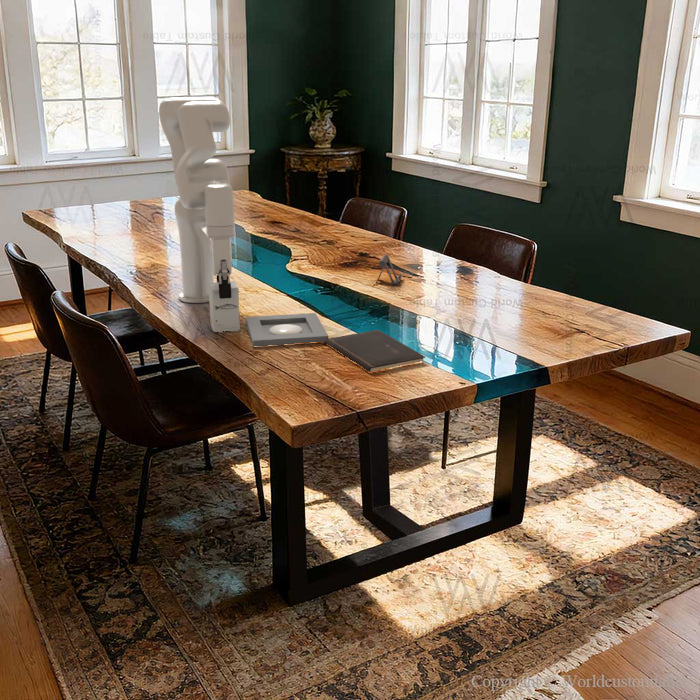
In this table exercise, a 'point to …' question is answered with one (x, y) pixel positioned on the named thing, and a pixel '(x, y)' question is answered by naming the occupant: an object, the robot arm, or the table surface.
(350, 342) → the hardcover book
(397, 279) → the portable electronic device stand
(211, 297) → the supplement box
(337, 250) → the table surface
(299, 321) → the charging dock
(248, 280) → the table surface
